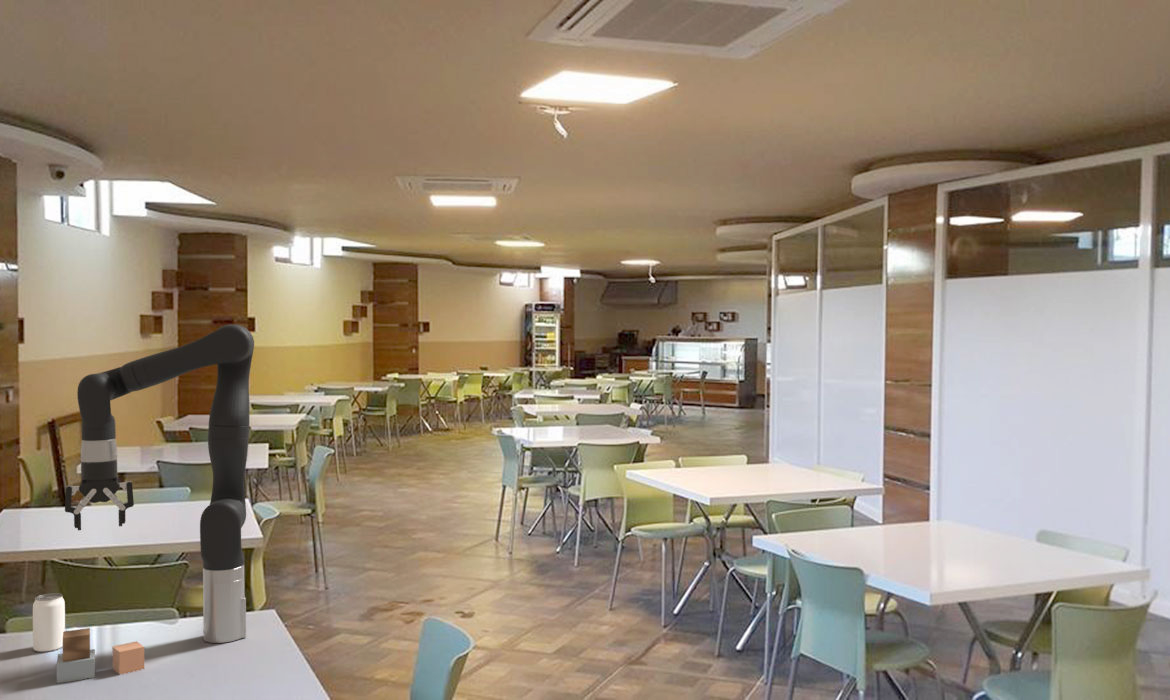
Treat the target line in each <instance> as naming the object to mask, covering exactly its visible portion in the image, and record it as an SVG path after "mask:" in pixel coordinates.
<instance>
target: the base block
mask: <svg viewBox="0 0 1170 700" xmlns="http://www.w3.org/2000/svg"><path fill="white" fill-rule="evenodd" d="M95 652H96V649H95V648H92V649H90V658H86V659H79V660H72V661H65V662H63V653H58V654H57V660H56V684H61V683H68V682H74V681H76V682H77V681H80V680H81V681H82V680H88V679H87V678H89V679H94V677H96V655H95Z"/></svg>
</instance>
